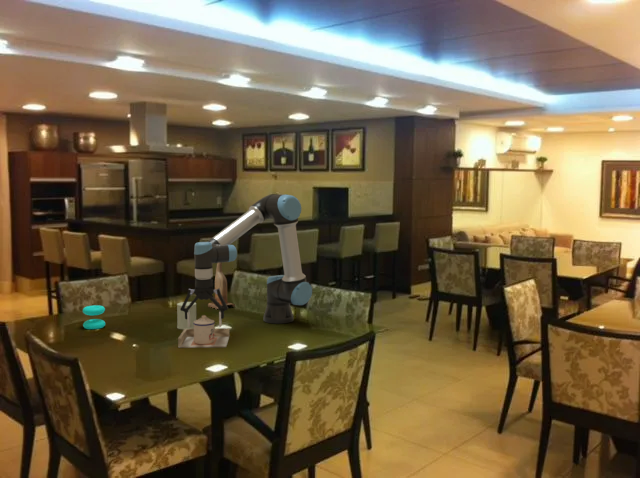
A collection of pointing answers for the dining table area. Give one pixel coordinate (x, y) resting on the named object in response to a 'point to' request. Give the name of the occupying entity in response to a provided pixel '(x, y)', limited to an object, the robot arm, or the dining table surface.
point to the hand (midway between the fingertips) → (204, 326)
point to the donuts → (94, 322)
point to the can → (181, 319)
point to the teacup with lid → (204, 330)
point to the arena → (188, 342)
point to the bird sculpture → (220, 287)
